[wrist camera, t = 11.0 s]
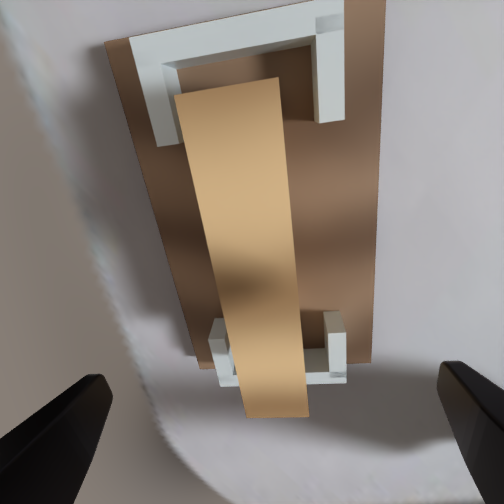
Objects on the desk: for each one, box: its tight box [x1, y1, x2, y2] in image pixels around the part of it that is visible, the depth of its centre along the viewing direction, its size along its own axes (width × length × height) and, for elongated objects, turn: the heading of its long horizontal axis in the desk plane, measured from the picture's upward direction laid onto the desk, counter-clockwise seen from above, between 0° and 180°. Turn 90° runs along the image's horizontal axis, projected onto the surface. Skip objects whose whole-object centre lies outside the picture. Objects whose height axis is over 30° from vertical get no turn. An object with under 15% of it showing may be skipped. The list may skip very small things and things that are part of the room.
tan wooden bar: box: [174, 77, 309, 418], centre depth 14 cm, size 14×3×6 cm, turn 8°
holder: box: [104, 0, 386, 387], centre depth 16 cm, size 20×12×3 cm, turn 8°
